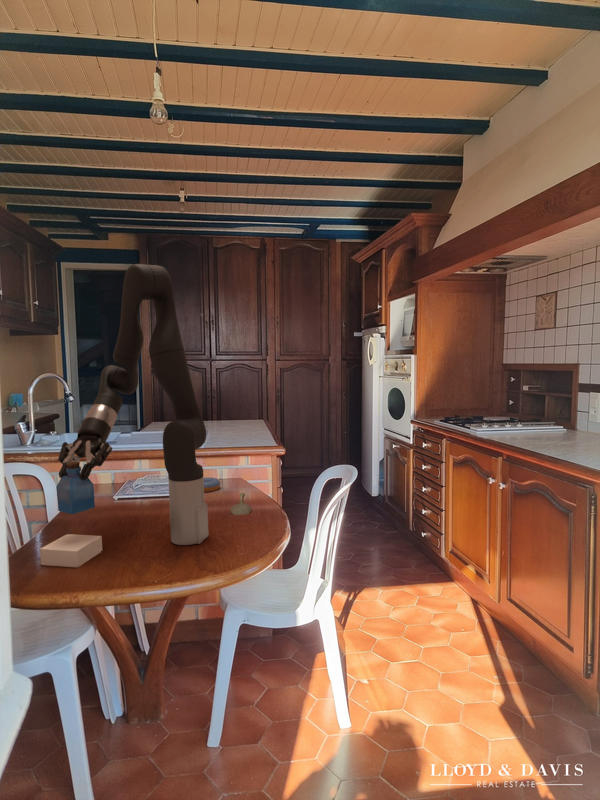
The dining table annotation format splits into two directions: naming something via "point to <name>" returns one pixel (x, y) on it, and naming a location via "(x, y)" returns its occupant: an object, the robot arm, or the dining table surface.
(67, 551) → the plinth
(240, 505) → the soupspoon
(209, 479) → the doughnut
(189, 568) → the dining table surface
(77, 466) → the perfume bottle
